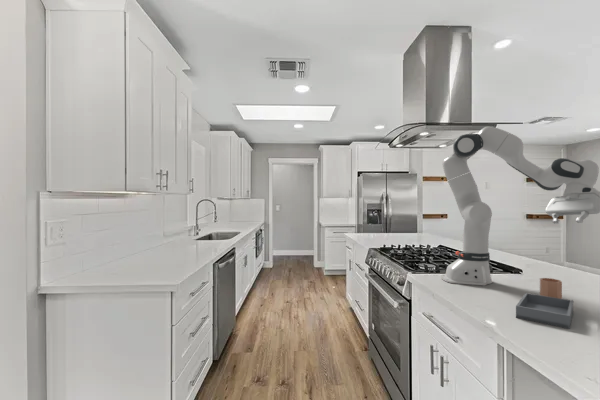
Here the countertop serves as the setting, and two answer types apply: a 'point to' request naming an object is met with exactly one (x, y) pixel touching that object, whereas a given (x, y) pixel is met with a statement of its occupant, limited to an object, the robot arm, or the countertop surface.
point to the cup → (551, 287)
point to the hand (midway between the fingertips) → (566, 222)
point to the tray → (545, 310)
